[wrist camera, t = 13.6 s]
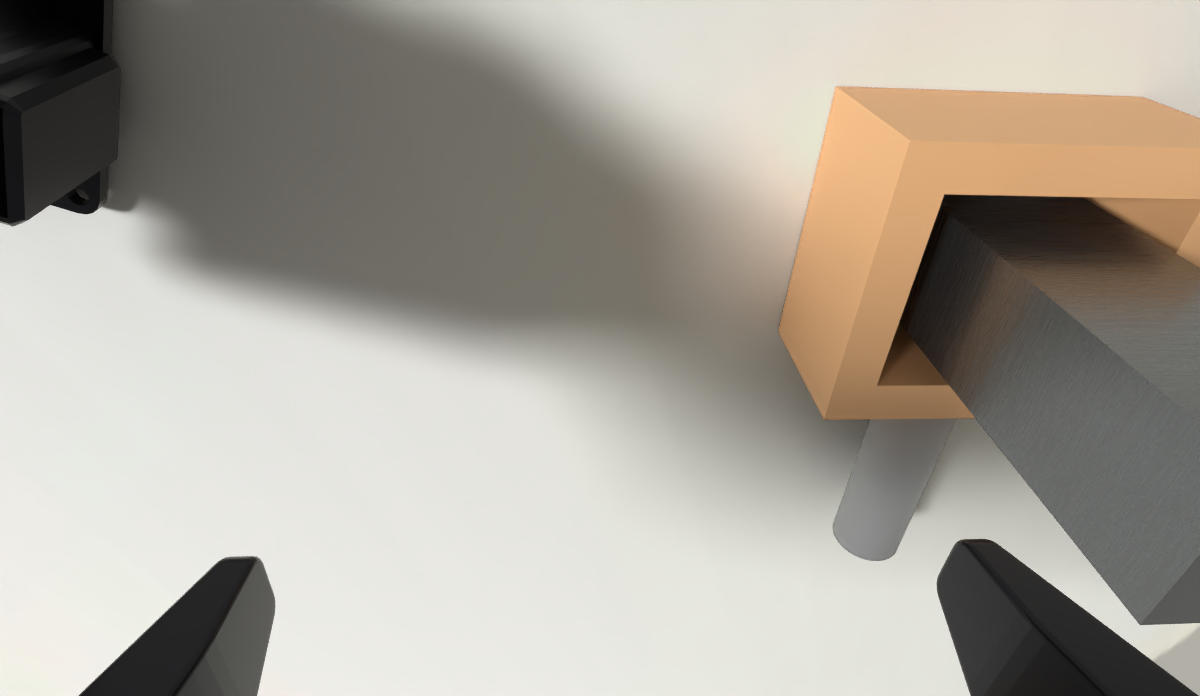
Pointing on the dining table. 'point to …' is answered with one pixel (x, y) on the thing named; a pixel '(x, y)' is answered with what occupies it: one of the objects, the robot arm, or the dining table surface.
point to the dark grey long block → (1078, 377)
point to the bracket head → (900, 234)
